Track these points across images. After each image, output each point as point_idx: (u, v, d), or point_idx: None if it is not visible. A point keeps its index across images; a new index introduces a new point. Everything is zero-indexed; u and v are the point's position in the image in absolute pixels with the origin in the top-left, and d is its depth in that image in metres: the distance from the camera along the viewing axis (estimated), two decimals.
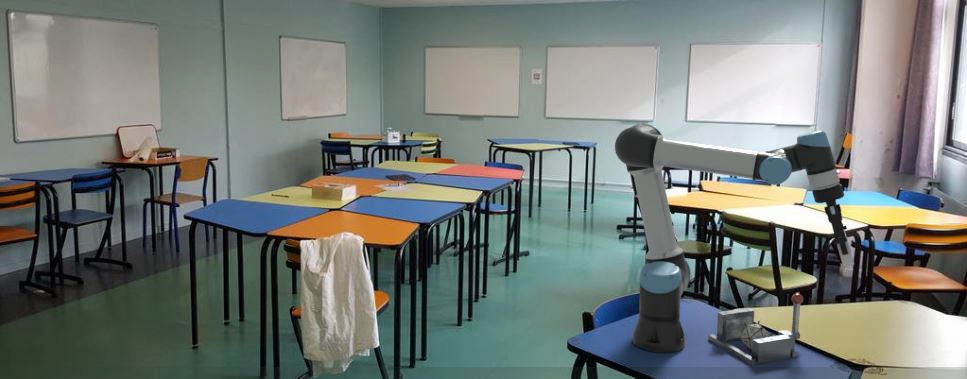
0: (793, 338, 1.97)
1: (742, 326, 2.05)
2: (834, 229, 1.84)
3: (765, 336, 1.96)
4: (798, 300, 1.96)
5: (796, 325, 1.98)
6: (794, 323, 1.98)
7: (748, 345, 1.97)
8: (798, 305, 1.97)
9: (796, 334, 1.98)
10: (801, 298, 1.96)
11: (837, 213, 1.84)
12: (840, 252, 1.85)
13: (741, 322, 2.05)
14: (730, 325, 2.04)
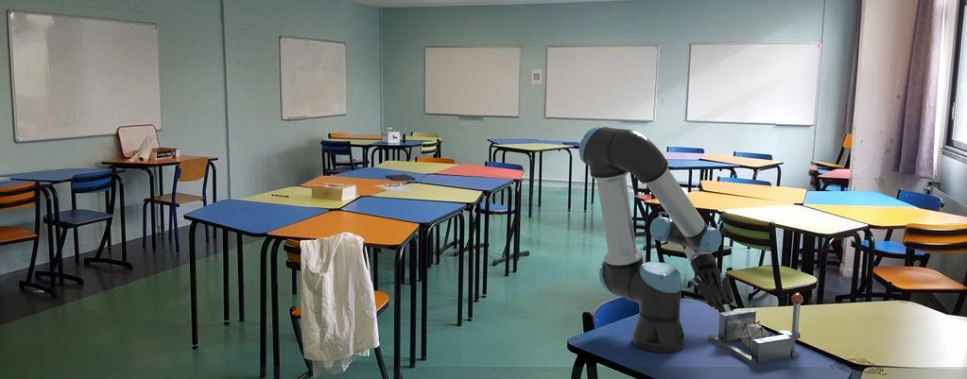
0: (793, 338, 1.97)
1: None
2: None
3: (765, 336, 1.96)
4: (798, 300, 1.96)
5: (796, 325, 1.98)
6: (794, 323, 1.98)
7: (748, 345, 1.97)
8: (798, 305, 1.97)
9: (796, 334, 1.98)
10: (801, 298, 1.96)
11: None
12: None
13: (743, 323, 2.04)
14: (731, 326, 2.03)
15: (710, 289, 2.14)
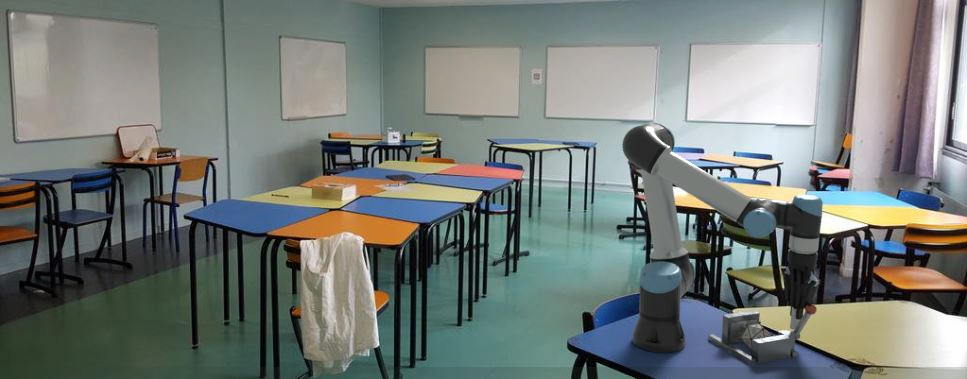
0: (793, 338, 1.97)
1: None
2: (807, 299, 1.92)
3: (767, 336, 1.96)
4: (811, 312, 1.91)
5: (800, 329, 1.97)
6: (798, 327, 1.96)
7: (750, 346, 1.97)
8: (809, 315, 1.93)
9: (796, 336, 1.98)
10: (815, 311, 1.91)
11: (816, 286, 1.91)
12: (794, 316, 1.97)
13: None
14: (735, 328, 2.02)
15: None
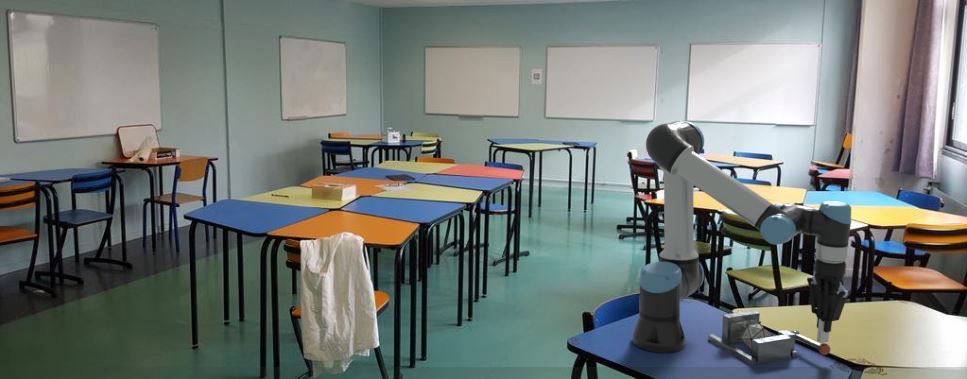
0: (793, 338, 1.97)
1: None
2: (836, 311, 1.83)
3: (767, 336, 1.96)
4: (821, 353, 1.89)
5: None
6: (802, 340, 1.95)
7: (750, 346, 1.97)
8: None
9: (795, 339, 1.98)
10: (826, 353, 1.88)
11: (846, 297, 1.82)
12: (822, 329, 1.88)
13: None
14: (735, 328, 2.02)
15: None
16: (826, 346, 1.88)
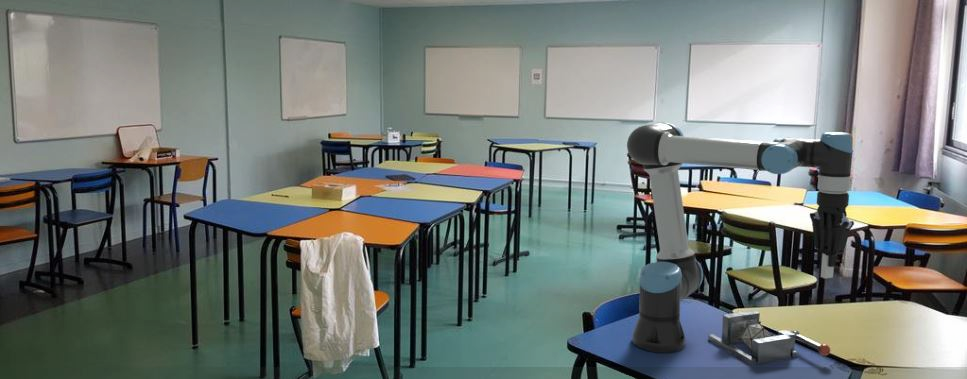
0: (793, 338, 1.97)
1: None
2: (840, 243, 1.80)
3: (767, 336, 1.96)
4: None
5: None
6: (802, 340, 1.95)
7: (750, 346, 1.97)
8: None
9: (795, 339, 1.98)
10: (826, 354, 1.89)
11: (849, 228, 1.79)
12: (826, 264, 1.84)
13: None
14: (735, 328, 2.02)
15: None
16: (826, 347, 1.88)
